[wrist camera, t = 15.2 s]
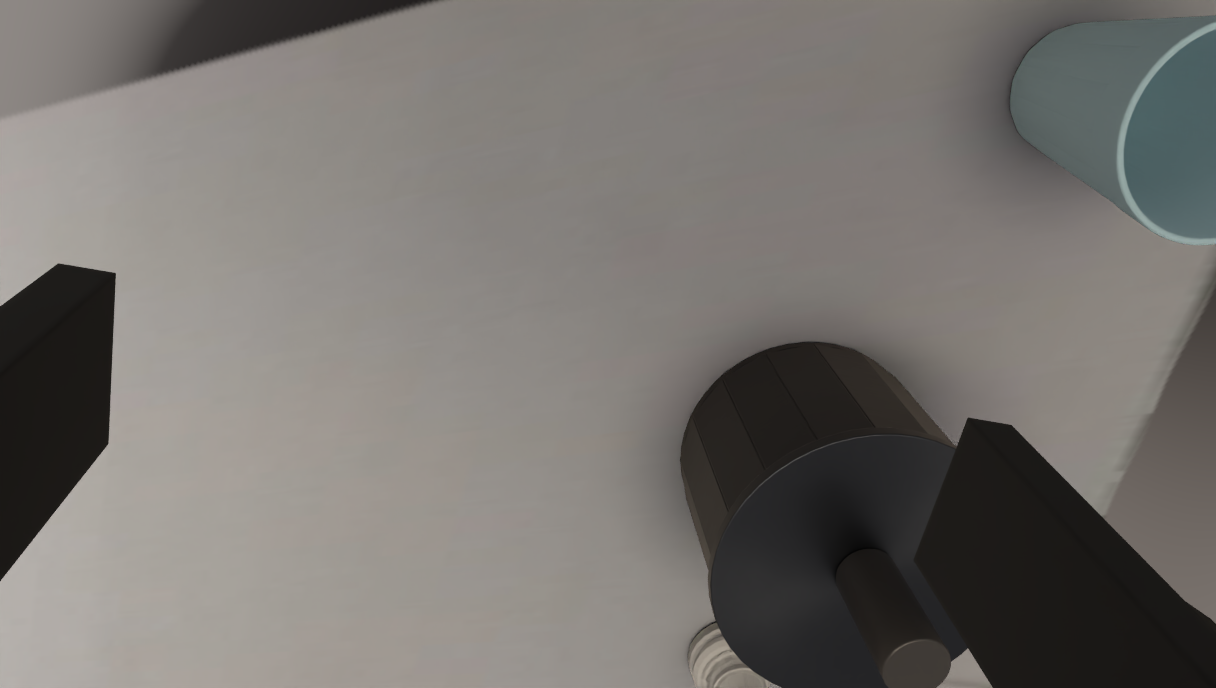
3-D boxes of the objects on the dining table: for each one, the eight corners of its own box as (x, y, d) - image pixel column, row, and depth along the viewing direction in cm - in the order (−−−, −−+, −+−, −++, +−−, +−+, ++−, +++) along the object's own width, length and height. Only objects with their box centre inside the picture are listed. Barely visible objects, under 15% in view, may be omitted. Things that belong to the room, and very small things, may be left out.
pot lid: (753, 394, 38) (801, 485, 31) (1049, 447, 40) (1149, 543, 33) (671, 659, 42) (699, 785, 36) (943, 695, 44) (1013, 820, 38)
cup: (1114, -46, 41) (1295, -38, 32) (1186, 106, 44) (1373, 157, 35) (953, 68, 43) (1082, 110, 33) (1033, 210, 45) (1173, 286, 36)
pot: (716, 321, 46) (764, 413, 37) (946, 365, 48) (1044, 462, 39) (654, 534, 50) (685, 662, 41) (870, 567, 52) (943, 696, 43)
